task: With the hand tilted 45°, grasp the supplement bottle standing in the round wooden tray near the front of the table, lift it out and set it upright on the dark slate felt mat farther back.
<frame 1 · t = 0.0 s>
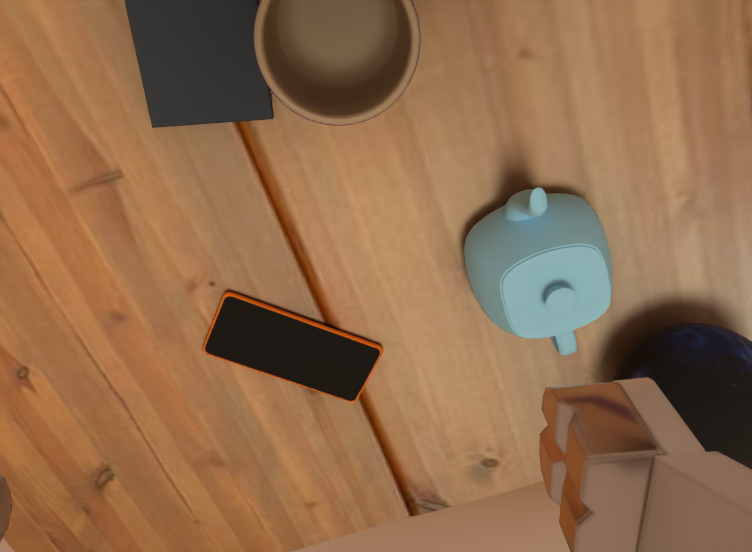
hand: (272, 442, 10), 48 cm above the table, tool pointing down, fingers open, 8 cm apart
smartphone: (293, 345, 66), on the table
mat: (203, 59, 53), on the table
decorative sphere: (660, 356, 69), on the table
planter: (337, 23, 52), on the table
teapot: (525, 237, 62), on the table
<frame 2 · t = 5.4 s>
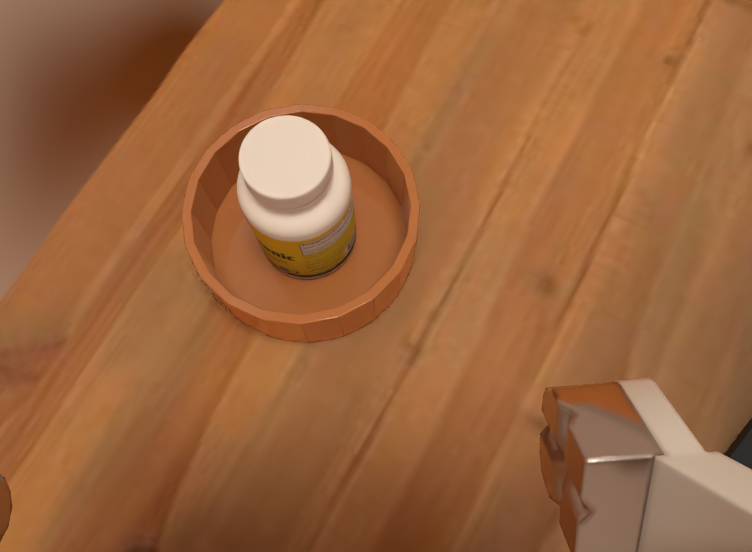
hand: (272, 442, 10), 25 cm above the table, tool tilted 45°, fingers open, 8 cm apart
supplement bottle: (309, 238, 37), resting on round wooden tray
round wooden tray: (309, 239, 37), on the table
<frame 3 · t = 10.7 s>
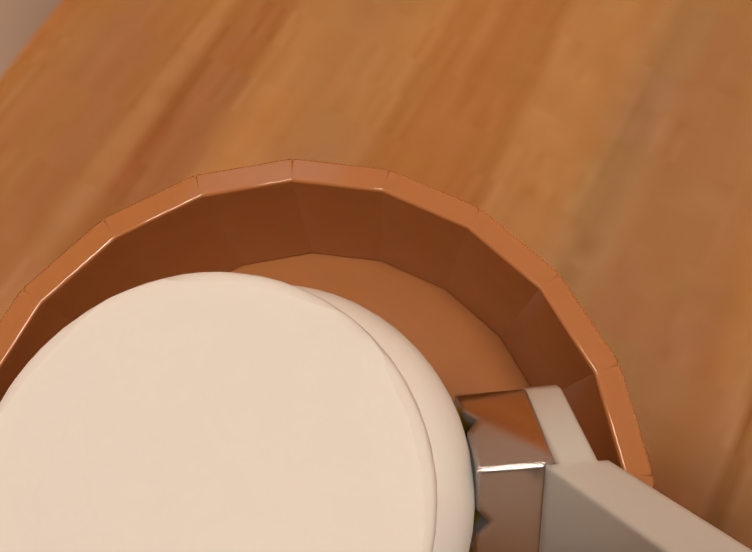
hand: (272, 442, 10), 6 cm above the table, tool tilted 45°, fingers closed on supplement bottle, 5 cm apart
supplement bottle: (314, 486, 15), resting on round wooden tray, touching gripper
round wooden tray: (314, 486, 15), on the table
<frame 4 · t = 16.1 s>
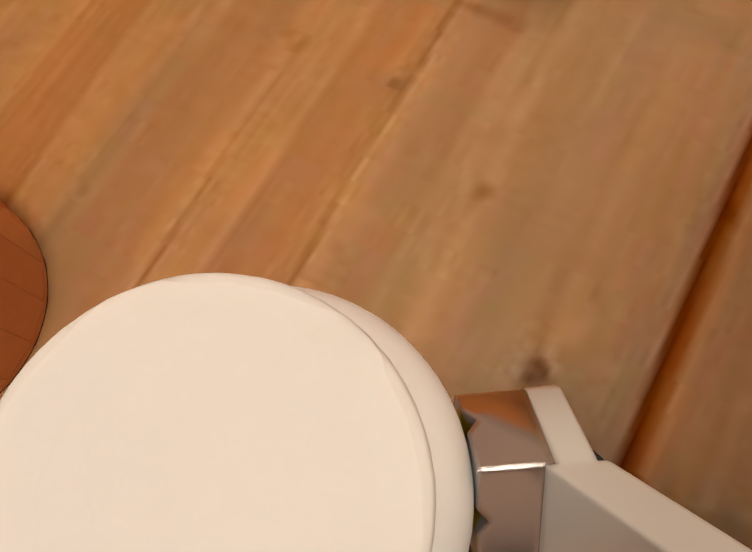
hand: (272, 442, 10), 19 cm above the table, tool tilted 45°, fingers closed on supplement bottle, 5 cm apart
supplement bottle: (313, 487, 15), point 13 cm above the table, touching gripper
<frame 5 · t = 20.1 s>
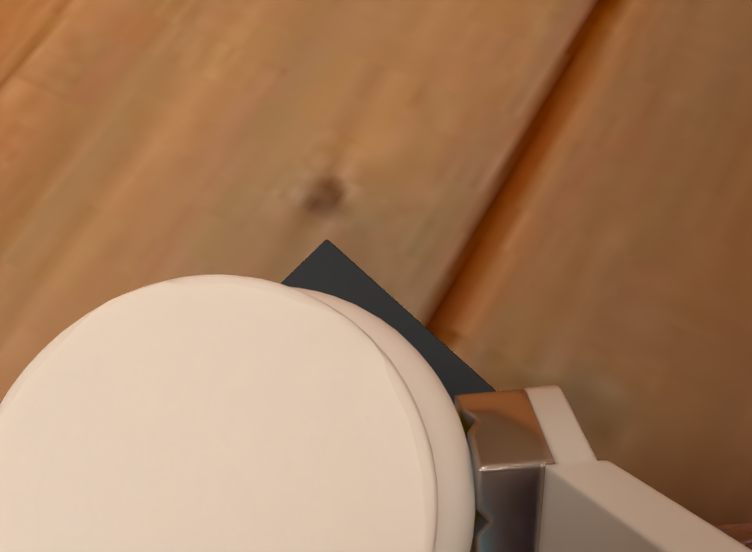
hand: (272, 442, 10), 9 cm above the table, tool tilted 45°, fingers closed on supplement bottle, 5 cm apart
mat: (330, 485, 18), on the table
supplement bottle: (314, 487, 15), point 3 cm above the table, touching gripper
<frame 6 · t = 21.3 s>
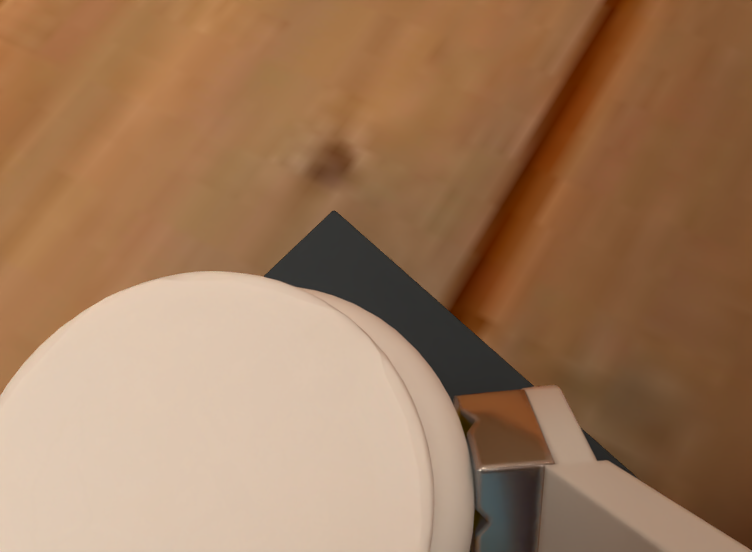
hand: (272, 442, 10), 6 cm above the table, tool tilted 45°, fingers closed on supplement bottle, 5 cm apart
mat: (337, 497, 15), on the table
supplement bottle: (316, 490, 15), point 1 cm above the table, touching gripper, mat
when the fingers open (6 cm above the table, at t = 21.8 s): supplement bottle stays where it is, resting on mat.
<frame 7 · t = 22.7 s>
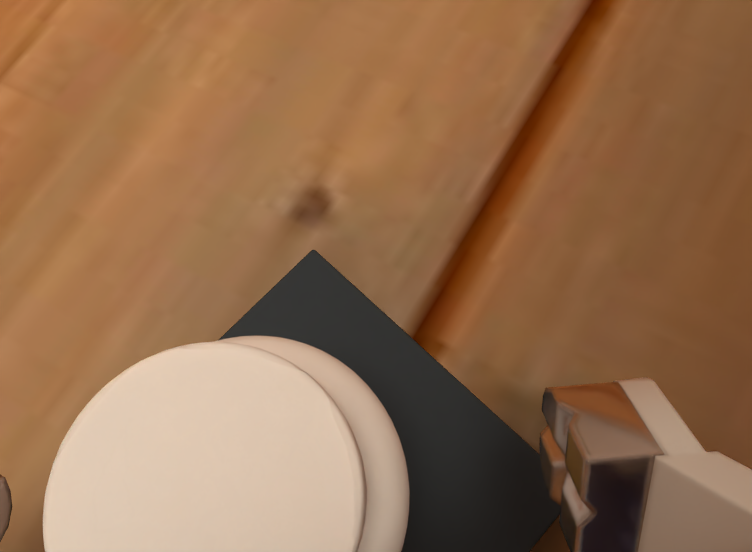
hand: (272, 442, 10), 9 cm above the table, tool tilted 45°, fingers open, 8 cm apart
mat: (315, 498, 18), on the table
supplement bottle: (296, 491, 18), point 1 cm above the table, touching mat
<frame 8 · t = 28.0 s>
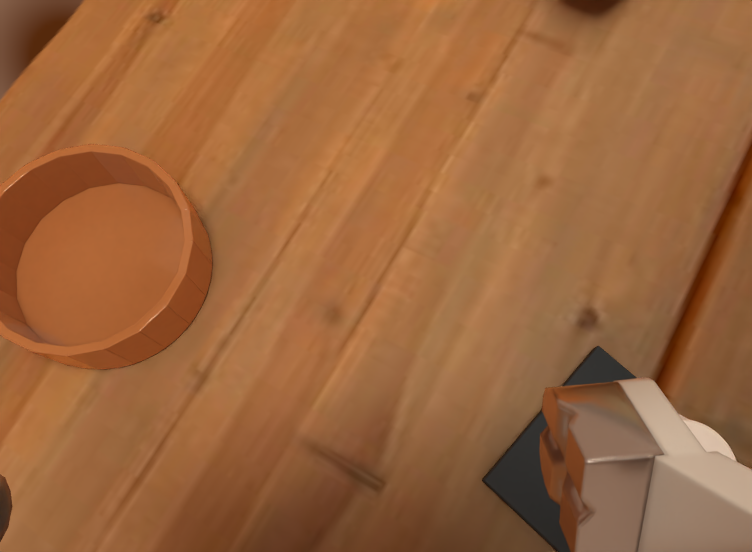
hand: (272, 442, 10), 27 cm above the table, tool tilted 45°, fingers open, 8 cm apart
mat: (611, 476, 36), on the table
supplement bottle: (606, 472, 35), point 1 cm above the table, touching mat
round wooden tray: (112, 270, 39), on the table
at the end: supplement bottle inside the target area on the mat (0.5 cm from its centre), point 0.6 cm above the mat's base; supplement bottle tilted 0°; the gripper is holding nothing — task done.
